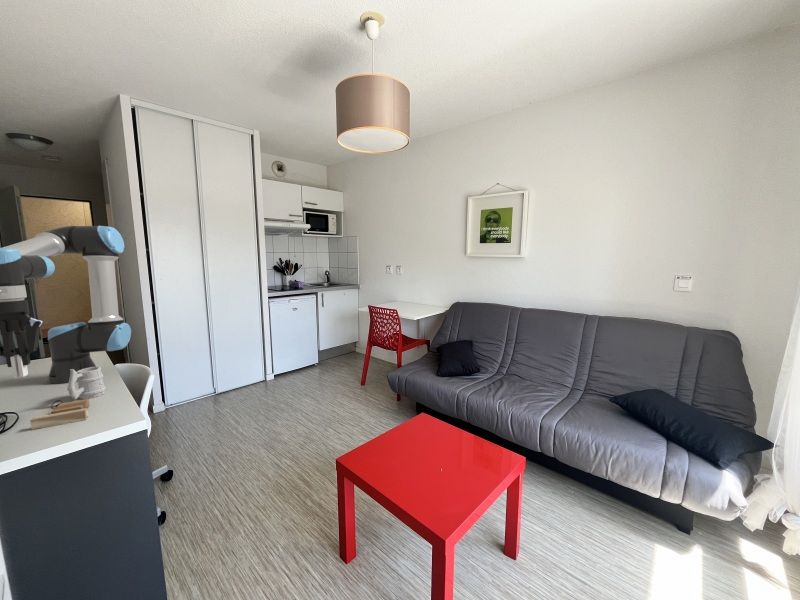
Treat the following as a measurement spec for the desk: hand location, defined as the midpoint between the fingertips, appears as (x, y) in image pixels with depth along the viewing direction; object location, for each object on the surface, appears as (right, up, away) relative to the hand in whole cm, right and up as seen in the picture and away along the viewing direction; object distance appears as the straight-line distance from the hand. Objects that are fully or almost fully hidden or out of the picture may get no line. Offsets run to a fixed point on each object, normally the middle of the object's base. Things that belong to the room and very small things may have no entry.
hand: (21, 376), depth 100 cm
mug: (+2, -12, +19) cm, 23 cm away
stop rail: (+13, -14, 0) cm, 19 cm away
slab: (+9, -14, +7) cm, 18 cm away
